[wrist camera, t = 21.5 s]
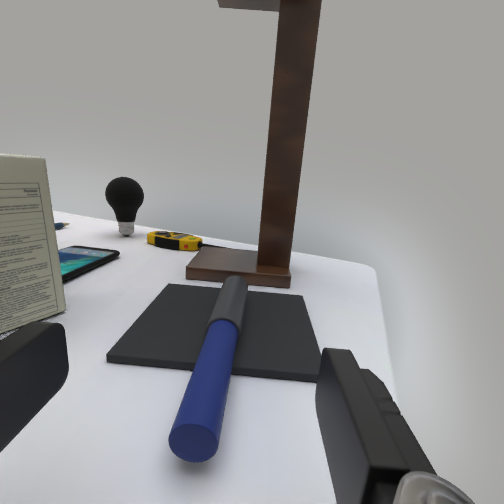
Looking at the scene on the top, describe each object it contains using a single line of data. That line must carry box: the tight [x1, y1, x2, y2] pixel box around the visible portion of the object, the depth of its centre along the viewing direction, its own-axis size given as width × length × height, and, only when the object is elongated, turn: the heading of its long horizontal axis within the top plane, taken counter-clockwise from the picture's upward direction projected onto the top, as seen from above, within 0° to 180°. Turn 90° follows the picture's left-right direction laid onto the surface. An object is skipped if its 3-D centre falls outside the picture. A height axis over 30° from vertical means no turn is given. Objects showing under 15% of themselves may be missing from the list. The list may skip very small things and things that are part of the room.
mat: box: [107, 284, 321, 382], centre depth 23 cm, size 14×12×1 cm
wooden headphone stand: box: [186, 0, 322, 288], centre depth 32 cm, size 12×10×32 cm
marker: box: [169, 276, 248, 462], centre depth 19 cm, size 16×2×2 cm, turn 177°
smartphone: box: [58, 246, 120, 282], centre depth 31 cm, size 7×1×15 cm
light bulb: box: [105, 177, 144, 236], centre depth 48 cm, size 6×6×10 cm
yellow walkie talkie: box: [147, 231, 231, 251], centre depth 45 cm, size 5×2×15 cm
